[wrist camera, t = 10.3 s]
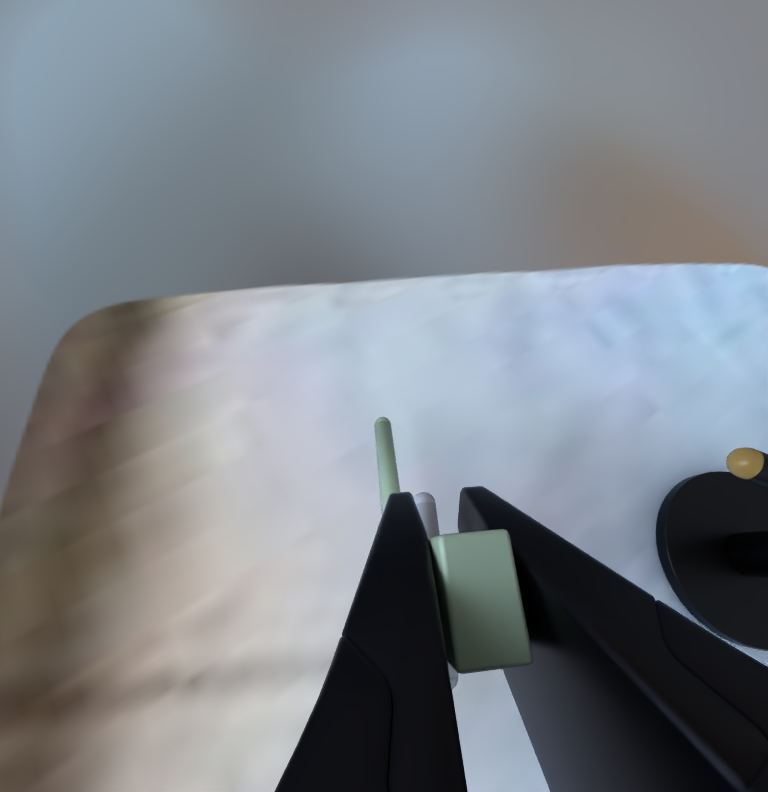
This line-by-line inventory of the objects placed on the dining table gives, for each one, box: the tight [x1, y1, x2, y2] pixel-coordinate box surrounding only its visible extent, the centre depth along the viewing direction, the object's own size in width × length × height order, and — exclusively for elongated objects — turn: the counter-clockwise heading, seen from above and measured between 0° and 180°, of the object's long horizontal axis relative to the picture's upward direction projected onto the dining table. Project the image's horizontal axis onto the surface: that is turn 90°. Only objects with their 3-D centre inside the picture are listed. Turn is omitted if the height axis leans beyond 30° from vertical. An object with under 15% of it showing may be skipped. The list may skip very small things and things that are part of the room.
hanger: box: [374, 417, 533, 689], centre depth 10 cm, size 1×12×11 cm, turn 5°
